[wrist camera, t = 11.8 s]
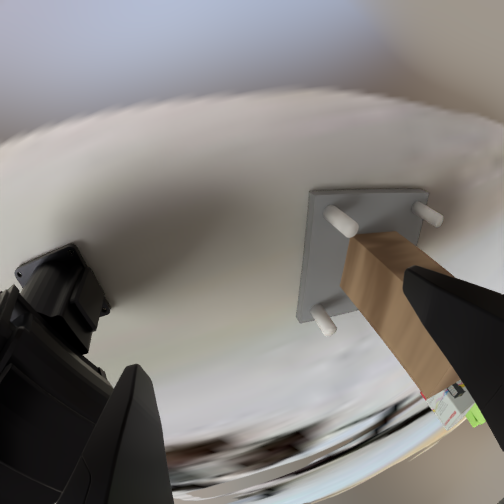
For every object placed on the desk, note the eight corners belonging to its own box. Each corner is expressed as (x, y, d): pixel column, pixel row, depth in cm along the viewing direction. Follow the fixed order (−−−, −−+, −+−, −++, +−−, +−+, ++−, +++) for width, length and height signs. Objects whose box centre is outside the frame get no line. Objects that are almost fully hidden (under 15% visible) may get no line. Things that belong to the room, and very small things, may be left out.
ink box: (435, 382, 51) (462, 419, 41) (418, 393, 50) (446, 432, 40) (446, 361, 46) (478, 400, 36) (428, 372, 46) (460, 414, 36)
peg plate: (296, 316, 27) (312, 346, 24) (309, 191, 21) (335, 210, 18) (395, 293, 30) (416, 315, 26) (422, 189, 24) (451, 205, 20)
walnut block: (339, 286, 25) (426, 399, 14) (350, 234, 23) (464, 344, 12) (382, 278, 26) (470, 373, 15) (395, 231, 24) (503, 321, 13)
